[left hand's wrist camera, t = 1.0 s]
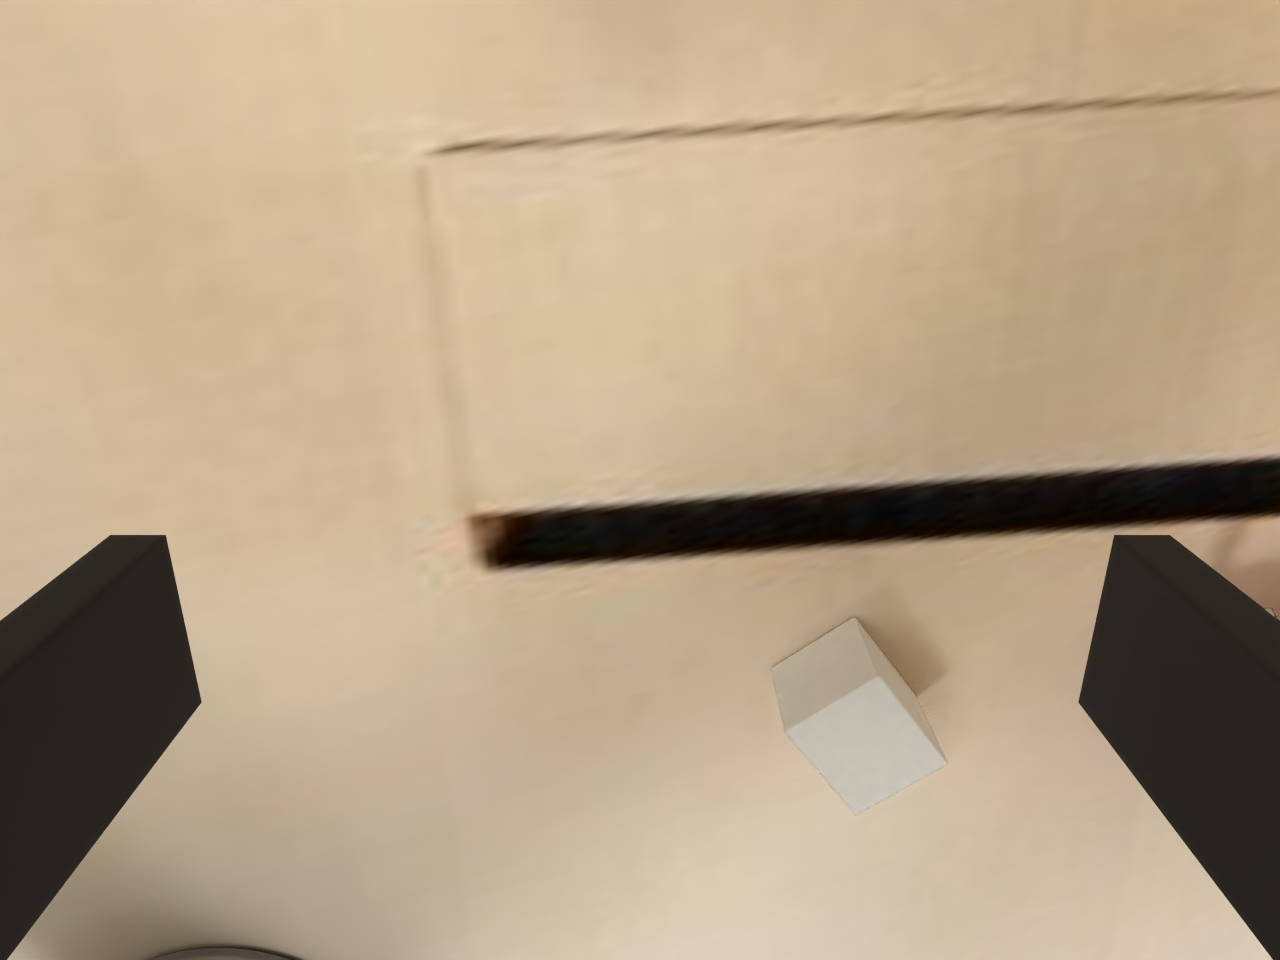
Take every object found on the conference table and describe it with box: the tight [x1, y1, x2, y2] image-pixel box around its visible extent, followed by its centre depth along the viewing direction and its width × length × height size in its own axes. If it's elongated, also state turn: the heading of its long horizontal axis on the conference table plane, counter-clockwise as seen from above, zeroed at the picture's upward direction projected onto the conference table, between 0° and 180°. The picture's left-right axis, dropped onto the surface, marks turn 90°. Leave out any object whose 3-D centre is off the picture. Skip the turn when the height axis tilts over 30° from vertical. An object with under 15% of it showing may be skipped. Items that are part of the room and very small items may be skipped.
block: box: [770, 617, 948, 815], centre depth 36 cm, size 5×4×4 cm
